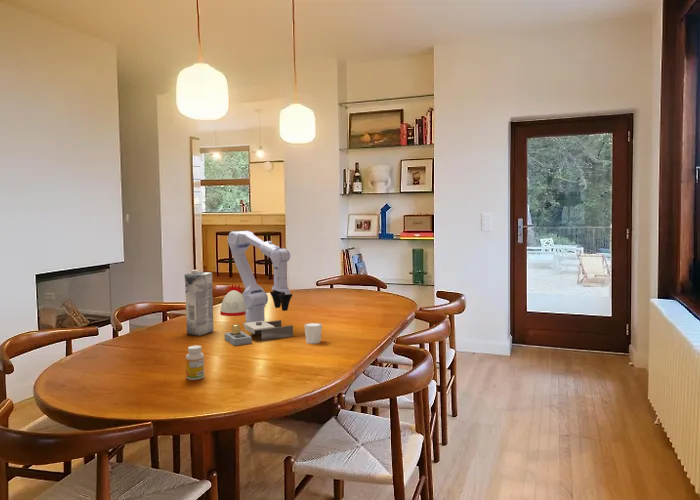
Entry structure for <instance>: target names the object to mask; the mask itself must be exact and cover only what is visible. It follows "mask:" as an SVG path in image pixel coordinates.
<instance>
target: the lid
mask: <svg viewBox="0 0 700 500" xmlns="http://www.w3.org/2000/svg"><path fill="white" fill-rule="evenodd" d="M266 322H267V321H265V322H264V321H256V322H248V323H246V322H243V324H242V325H243V326H244V325H245V326H244V330H246V331H248V332H249V333H250V334H251V333H253V335H256V334H255V330H263V329H270V328H275V326H273V325H271V324H269V323H266Z"/></svg>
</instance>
